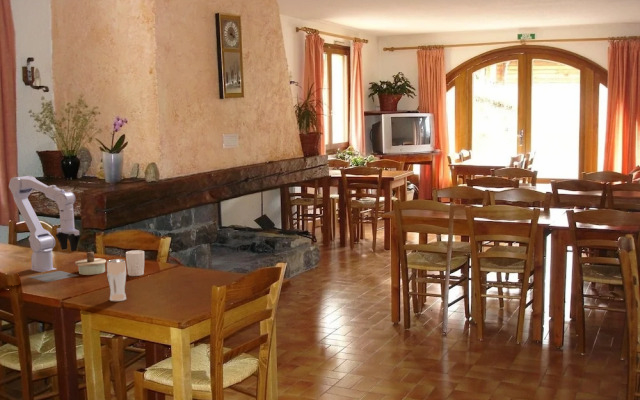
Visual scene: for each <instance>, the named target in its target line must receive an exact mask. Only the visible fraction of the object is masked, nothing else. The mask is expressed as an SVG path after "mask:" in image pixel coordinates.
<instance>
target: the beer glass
mask: <svg viewBox="0 0 640 400" xmlns="http://www.w3.org/2000/svg"><path fill="white" fill-rule="evenodd" d="M106 273H107V280H108V285H109V290H110V291H109V293H110V294H109V301H110V302H115V303H116V302H117V303H118V302H123V301H126V300H127V295H126V290H125V289H126V281H127V263H126V259H123V258H114V259H109V260H106Z"/></svg>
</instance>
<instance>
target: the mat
mask: <svg viewBox="0 0 640 400" xmlns="http://www.w3.org/2000/svg"><path fill="white" fill-rule="evenodd" d="M78 276H80V275H79V274H75V273H72V272H67V271H63V270H57V271H51V272H47V273H41V274H37V275H32V276H28V278H30V279H33V280H38V281H41V282H45V283H49V282H50V283H51V282H54V281H61V280H63V279H69V278H73V277H78Z"/></svg>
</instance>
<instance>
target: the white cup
mask: <svg viewBox="0 0 640 400" xmlns="http://www.w3.org/2000/svg"><path fill="white" fill-rule="evenodd" d="M125 258H126V259H125V263H126V270H127V275H128V276H129V277H138V276H139V277H140V276H143V275H144V274H145V272H144V271H145V251H144V250H141V249H140V250H139V249H138V250H136V249H135V250H129V251H126V252H125Z"/></svg>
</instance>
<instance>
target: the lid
mask: <svg viewBox="0 0 640 400" xmlns="http://www.w3.org/2000/svg"><path fill="white" fill-rule="evenodd" d="M74 263H75V264H74V265H75V266H77V267H79V266H97V265H102V264H105V265H106V264H107V260H106V259H105V258H100V257H99V258H96V257H95V253H94V251H87V252H86V258H83V259H80V260H77V261H74Z"/></svg>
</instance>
